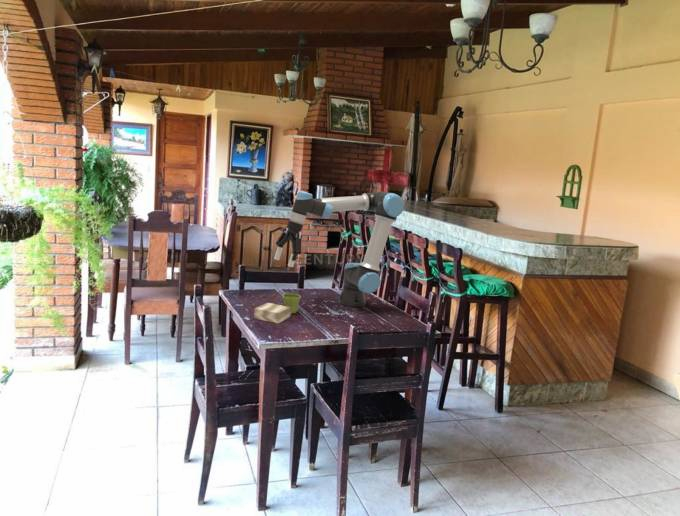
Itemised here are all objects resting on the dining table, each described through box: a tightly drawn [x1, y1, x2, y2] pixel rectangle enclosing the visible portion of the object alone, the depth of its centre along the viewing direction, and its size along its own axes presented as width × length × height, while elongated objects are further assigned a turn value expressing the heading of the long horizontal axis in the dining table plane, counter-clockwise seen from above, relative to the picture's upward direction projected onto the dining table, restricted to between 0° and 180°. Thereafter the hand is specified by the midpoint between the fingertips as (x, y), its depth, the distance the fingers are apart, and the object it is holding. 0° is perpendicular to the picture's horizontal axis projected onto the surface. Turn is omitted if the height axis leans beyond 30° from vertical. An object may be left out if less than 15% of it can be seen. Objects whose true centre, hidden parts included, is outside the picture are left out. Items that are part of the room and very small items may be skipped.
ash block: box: [253, 302, 291, 324], centre depth 257 cm, size 13×13×5 cm
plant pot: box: [282, 292, 302, 315], centre depth 269 cm, size 9×9×9 cm
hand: (283, 263), depth 261 cm, fingers open, 13 cm apart
